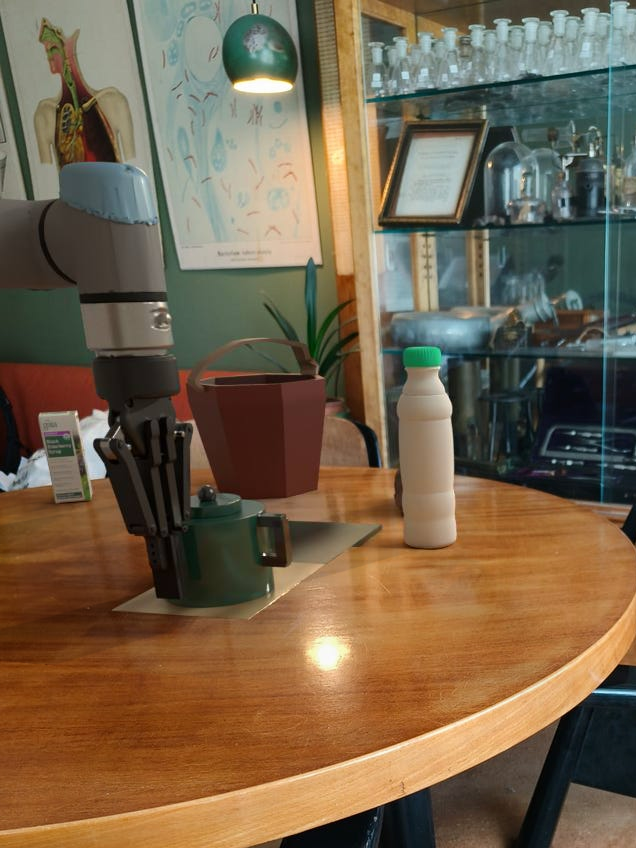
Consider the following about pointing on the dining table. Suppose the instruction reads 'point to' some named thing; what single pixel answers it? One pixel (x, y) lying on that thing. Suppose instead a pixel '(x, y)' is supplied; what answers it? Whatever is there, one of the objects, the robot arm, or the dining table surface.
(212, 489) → the kettle
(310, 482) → the bucket
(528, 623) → the dining table surface
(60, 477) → the syrup box
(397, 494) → the perforated stone tool
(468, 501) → the dining table surface
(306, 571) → the board
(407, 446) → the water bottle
